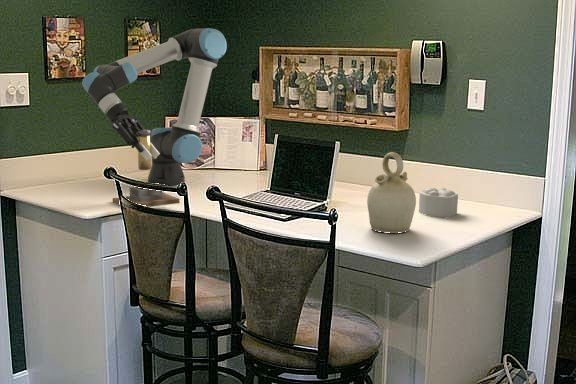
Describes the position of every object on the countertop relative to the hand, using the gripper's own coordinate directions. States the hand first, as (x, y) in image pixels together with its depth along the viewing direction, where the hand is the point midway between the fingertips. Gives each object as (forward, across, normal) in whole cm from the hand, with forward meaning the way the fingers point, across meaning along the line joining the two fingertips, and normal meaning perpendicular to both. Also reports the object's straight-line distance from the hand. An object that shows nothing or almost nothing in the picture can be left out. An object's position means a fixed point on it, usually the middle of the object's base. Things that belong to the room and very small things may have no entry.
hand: (153, 157), depth 266 cm
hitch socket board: (+9, 0, -15) cm, 17 cm away
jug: (+74, -3, +50) cm, 90 cm away
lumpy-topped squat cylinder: (+80, -33, +56) cm, 103 cm away
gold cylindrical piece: (+1, 0, -6) cm, 6 cm away
